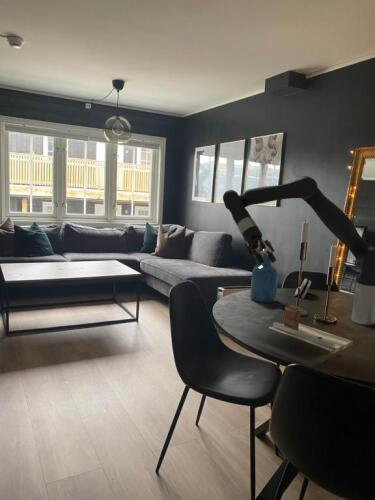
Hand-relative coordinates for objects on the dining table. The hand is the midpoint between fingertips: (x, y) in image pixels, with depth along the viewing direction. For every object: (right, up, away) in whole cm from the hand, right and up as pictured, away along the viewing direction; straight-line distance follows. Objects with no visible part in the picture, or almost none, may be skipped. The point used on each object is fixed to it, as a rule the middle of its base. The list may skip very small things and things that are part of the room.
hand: (268, 262), depth 156 cm
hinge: (+31, -20, +56) cm, 67 cm away
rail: (+9, -27, -15) cm, 32 cm away
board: (+13, -28, -12) cm, 33 cm away
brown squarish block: (+7, -26, -8) cm, 28 cm away
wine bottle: (+5, -21, +40) cm, 45 cm away
